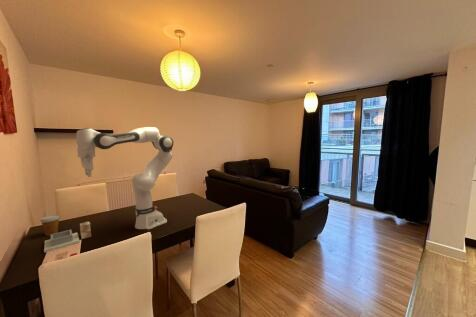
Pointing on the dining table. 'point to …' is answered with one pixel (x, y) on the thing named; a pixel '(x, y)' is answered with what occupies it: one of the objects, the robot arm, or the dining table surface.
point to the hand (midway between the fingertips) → (88, 175)
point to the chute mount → (61, 240)
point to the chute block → (85, 230)
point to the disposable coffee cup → (50, 224)
